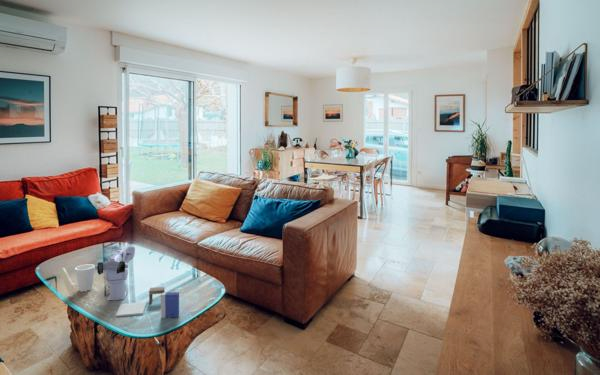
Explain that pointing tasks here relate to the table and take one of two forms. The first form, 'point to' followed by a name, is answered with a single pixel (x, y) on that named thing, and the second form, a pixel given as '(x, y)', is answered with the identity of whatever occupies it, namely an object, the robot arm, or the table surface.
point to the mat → (131, 309)
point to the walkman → (169, 304)
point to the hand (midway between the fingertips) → (108, 272)
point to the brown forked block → (155, 292)
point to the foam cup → (85, 276)
